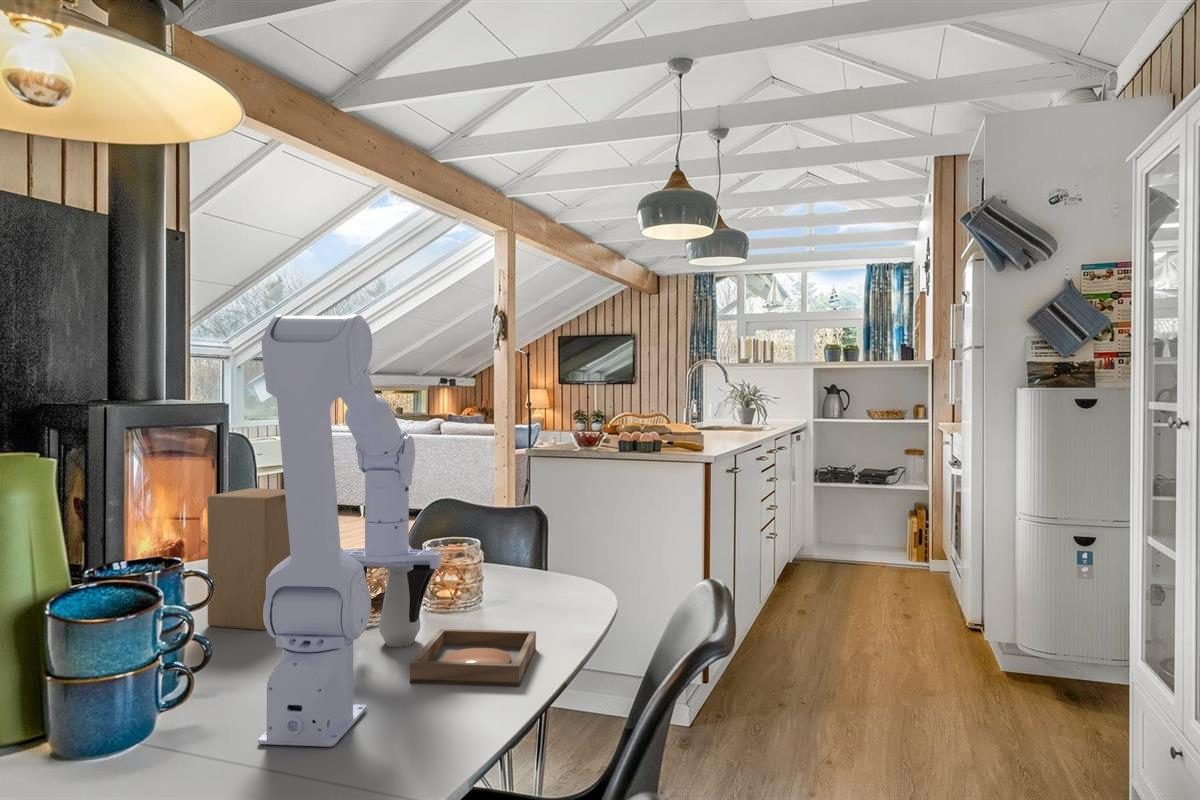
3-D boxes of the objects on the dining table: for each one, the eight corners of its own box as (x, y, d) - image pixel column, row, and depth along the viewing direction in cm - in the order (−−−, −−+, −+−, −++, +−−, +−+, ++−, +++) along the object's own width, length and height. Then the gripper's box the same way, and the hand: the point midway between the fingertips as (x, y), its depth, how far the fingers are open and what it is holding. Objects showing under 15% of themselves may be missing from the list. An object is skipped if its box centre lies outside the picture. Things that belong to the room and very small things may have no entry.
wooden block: (303, 612, 124) (304, 489, 124) (264, 631, 114) (264, 497, 114) (249, 608, 126) (249, 487, 126) (206, 626, 116) (206, 495, 116)
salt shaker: (409, 650, 106) (409, 557, 106) (371, 647, 107) (371, 555, 107) (427, 637, 112) (427, 549, 112) (390, 634, 113) (391, 547, 113)
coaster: (504, 674, 96) (504, 672, 96) (433, 672, 96) (433, 670, 96) (516, 650, 105) (516, 648, 105) (451, 648, 105) (452, 646, 105)
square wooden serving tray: (519, 686, 93) (519, 666, 93) (409, 682, 94) (410, 662, 94) (535, 649, 107) (535, 631, 107) (440, 646, 108) (440, 628, 108)
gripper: (447, 515, 107) (447, 612, 107) (346, 514, 108) (346, 609, 108) (433, 524, 100) (432, 627, 100) (325, 522, 101) (325, 624, 101)
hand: (386, 619), depth 104 cm, fingers open, 7 cm apart
